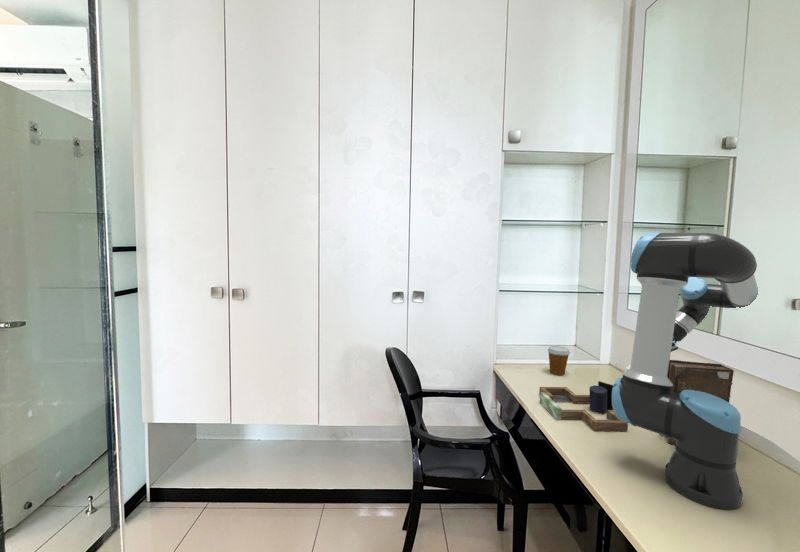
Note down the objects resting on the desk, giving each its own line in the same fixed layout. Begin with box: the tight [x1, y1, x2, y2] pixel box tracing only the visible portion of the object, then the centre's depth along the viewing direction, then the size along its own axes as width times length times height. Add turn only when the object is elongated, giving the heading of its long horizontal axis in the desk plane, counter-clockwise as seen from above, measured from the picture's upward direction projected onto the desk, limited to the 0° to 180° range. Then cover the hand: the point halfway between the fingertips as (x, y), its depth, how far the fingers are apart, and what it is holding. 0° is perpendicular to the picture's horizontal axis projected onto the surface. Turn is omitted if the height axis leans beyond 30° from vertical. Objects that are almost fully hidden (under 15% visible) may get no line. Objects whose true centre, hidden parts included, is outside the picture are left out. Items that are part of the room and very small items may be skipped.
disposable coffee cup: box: [547, 345, 571, 377], centre depth 171 cm, size 10×10×12 cm
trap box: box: [538, 386, 629, 432], centre depth 133 cm, size 29×22×4 cm
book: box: [666, 359, 735, 445], centre depth 112 cm, size 17×7×25 cm, turn 75°
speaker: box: [589, 380, 614, 414], centre depth 134 cm, size 8×6×10 cm
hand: (629, 371), depth 133 cm, fingers closed
